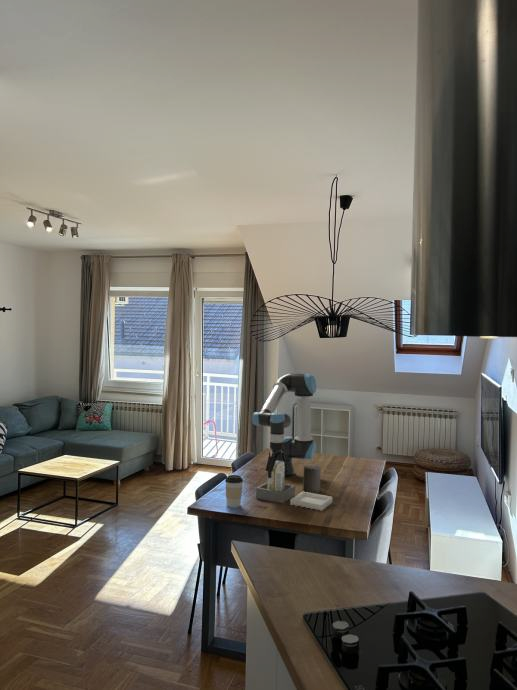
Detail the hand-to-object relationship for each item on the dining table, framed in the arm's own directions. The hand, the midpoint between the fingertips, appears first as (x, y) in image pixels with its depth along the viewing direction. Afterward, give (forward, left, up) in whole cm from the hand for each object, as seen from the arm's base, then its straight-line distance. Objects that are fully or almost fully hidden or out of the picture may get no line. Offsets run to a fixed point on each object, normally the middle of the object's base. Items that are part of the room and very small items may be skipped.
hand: (275, 480), depth 265 cm
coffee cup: (-12, -24, -9) cm, 28 cm away
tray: (+21, 0, -9) cm, 23 cm away
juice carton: (0, 0, -9) cm, 9 cm away
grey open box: (0, 0, -9) cm, 9 cm away
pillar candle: (+12, +22, -9) cm, 27 cm away
